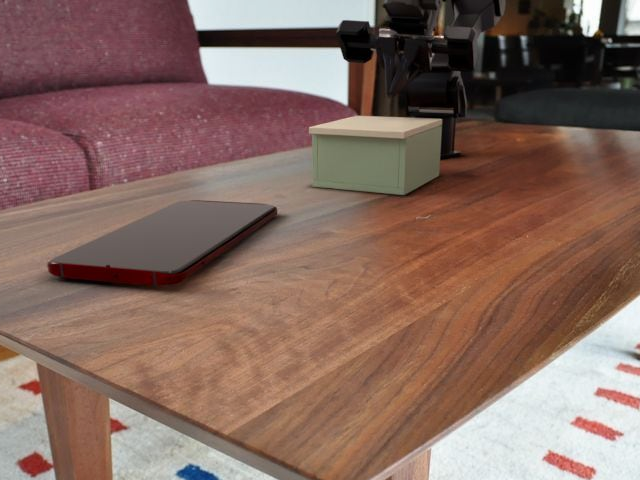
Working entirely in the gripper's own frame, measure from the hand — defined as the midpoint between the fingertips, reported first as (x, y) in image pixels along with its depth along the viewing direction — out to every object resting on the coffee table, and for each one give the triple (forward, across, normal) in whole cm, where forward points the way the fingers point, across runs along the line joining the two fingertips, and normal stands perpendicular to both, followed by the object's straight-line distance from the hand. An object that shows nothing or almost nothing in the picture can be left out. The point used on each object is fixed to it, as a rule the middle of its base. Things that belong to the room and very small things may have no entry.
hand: (389, 96), depth 88 cm
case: (+10, 0, +5) cm, 11 cm away
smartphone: (+34, -8, -20) cm, 40 cm away
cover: (+5, 0, 0) cm, 5 cm away
